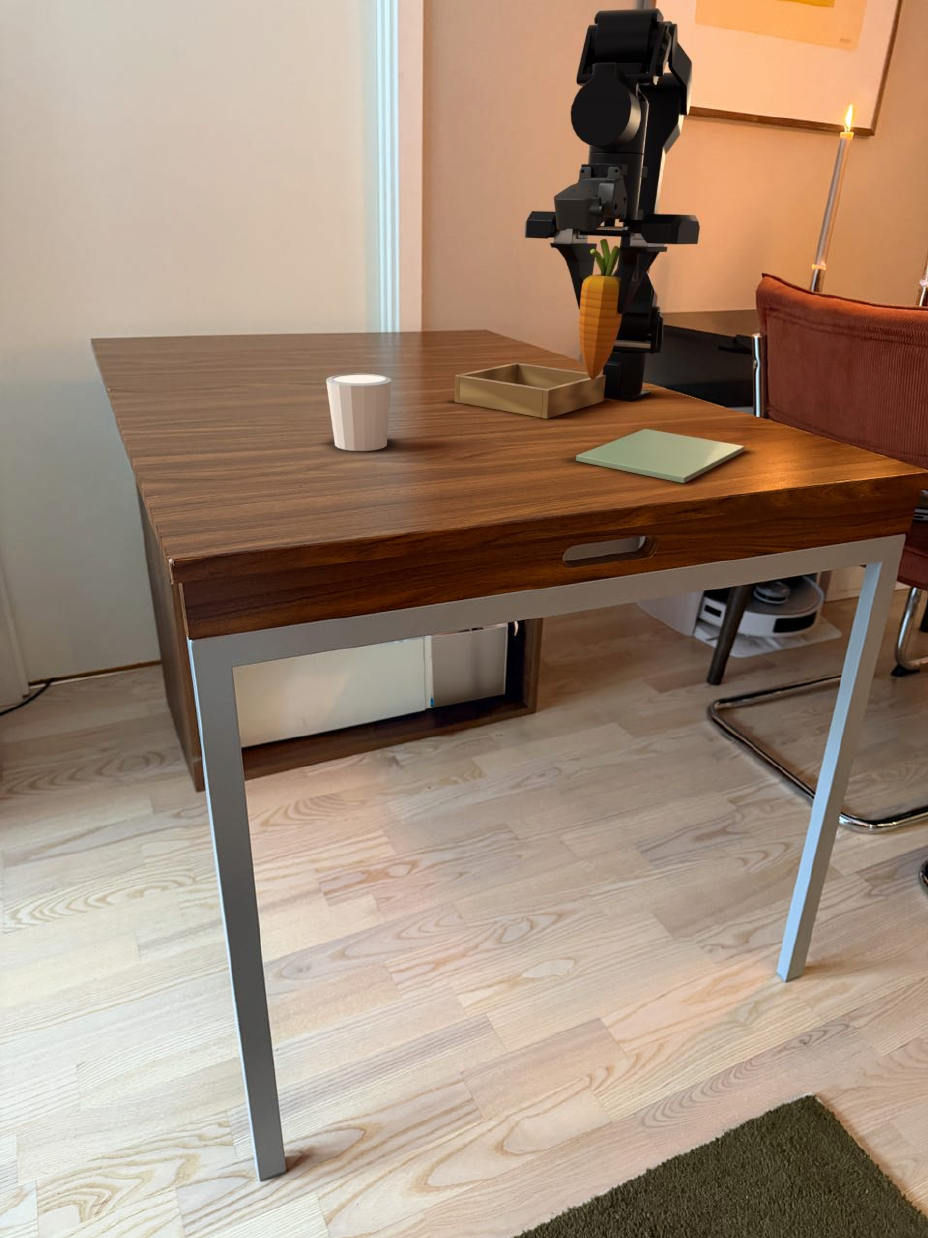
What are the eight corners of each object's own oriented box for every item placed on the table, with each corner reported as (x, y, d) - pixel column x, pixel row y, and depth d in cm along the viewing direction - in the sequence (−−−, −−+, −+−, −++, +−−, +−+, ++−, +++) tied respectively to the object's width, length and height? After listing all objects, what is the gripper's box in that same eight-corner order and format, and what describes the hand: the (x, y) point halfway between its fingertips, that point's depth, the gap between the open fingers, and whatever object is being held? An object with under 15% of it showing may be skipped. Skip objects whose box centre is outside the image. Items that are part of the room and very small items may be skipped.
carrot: (612, 385, 95) (632, 242, 89) (569, 381, 96) (585, 238, 89) (614, 377, 100) (633, 240, 93) (573, 373, 101) (589, 237, 94)
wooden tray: (515, 387, 122) (516, 362, 121) (603, 401, 115) (606, 375, 113) (454, 401, 112) (454, 375, 110) (546, 418, 104) (548, 390, 102)
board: (644, 433, 98) (645, 428, 98) (743, 451, 92) (744, 446, 91) (575, 460, 87) (576, 455, 86) (683, 483, 80) (684, 477, 80)
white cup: (354, 433, 95) (352, 370, 92) (405, 442, 92) (404, 377, 89) (315, 446, 89) (312, 379, 86) (367, 455, 86) (366, 386, 83)
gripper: (499, 150, 87) (493, 309, 94) (663, 146, 77) (643, 324, 84) (556, 157, 95) (546, 303, 102) (711, 155, 85) (689, 317, 92)
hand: (601, 311), depth 95 cm, fingers closed on carrot, 5 cm apart
